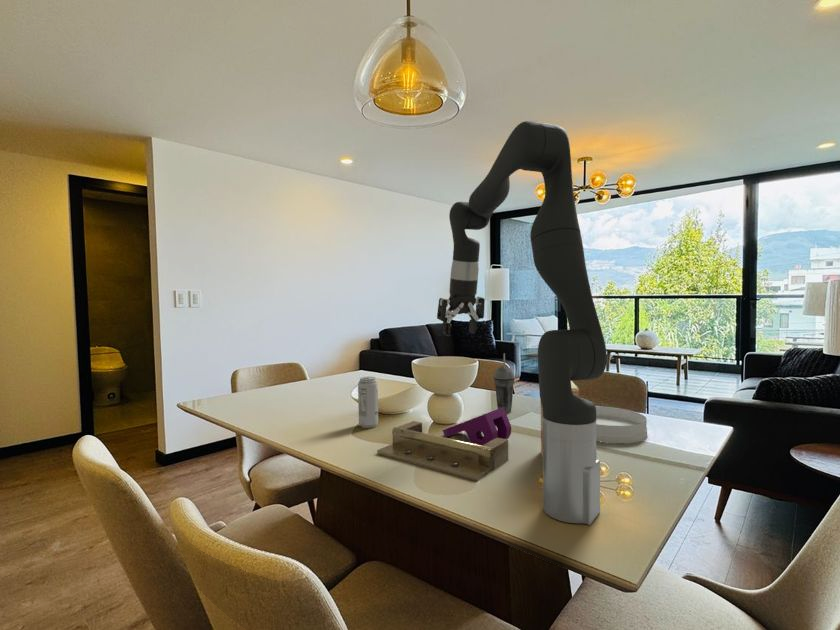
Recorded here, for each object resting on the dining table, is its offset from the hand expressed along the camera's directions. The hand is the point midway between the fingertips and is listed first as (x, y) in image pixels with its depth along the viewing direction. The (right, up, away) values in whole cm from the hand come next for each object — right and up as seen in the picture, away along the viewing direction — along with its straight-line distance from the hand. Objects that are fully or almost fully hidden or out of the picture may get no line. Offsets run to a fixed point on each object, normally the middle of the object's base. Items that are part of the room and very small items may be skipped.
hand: (459, 334), depth 125 cm
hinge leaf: (-6, -30, -15) cm, 34 cm away
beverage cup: (+18, -28, +27) cm, 43 cm away
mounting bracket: (+3, -30, -3) cm, 30 cm away
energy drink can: (-27, -29, +13) cm, 42 cm away
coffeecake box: (+22, -30, -21) cm, 42 cm away
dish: (+43, -29, +3) cm, 52 cm away
